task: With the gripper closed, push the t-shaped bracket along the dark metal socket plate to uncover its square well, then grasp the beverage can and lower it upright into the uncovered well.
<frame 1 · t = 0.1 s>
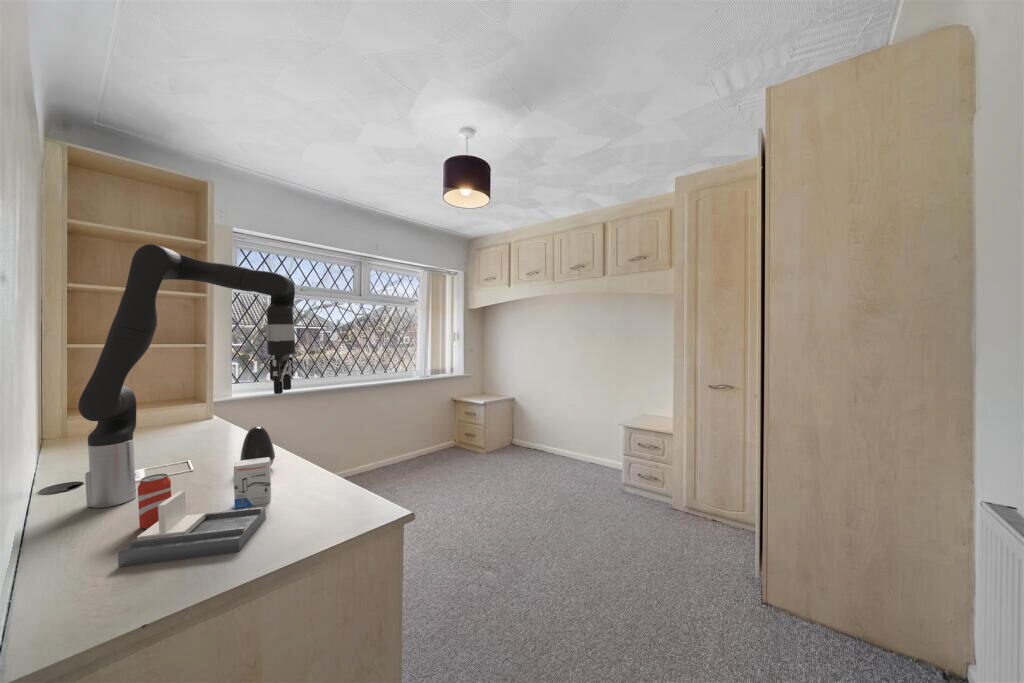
hand: (282, 391, 126), 29 cm above the table, fingers open, 8 cm apart
beverage can: (156, 525, 102), on the table
socket plate: (200, 540, 94), on the table
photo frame: (159, 474, 141), on the table
t-shaped bracket: (172, 513, 92), point 7 cm above the table, slide at 0.0 cm
ink box: (253, 503, 114), on the table
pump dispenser: (258, 470, 141), on the table
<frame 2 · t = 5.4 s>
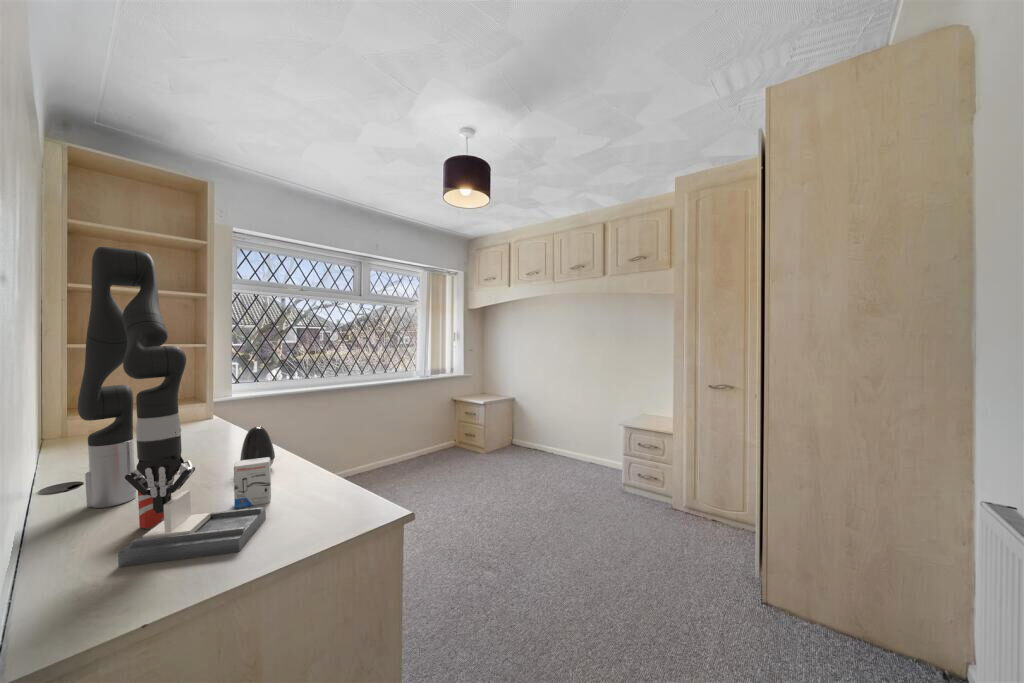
hand: (162, 511, 92), 8 cm above the table, fingers closed
t-shaped bracket: (178, 513, 93), point 7 cm above the table, slide at 1.0 cm, touching gripper
everything else where it was.
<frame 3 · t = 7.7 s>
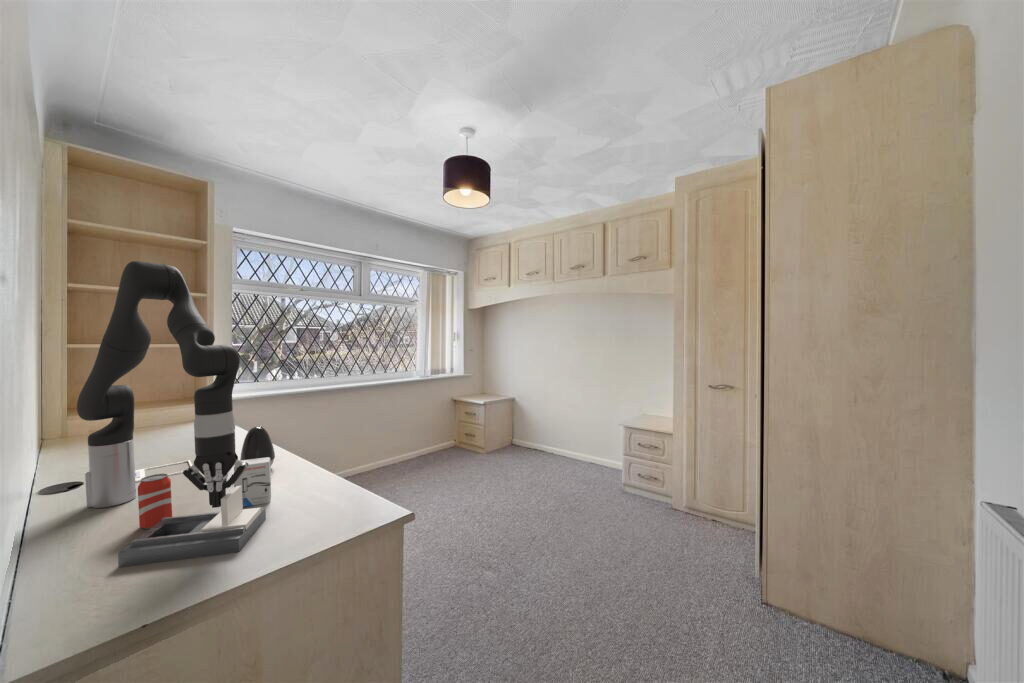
hand: (218, 506, 94), 8 cm above the table, fingers closed
t-shaped bracket: (232, 507, 95), point 7 cm above the table, slide at 12.0 cm, touching gripper
everything else where it was.
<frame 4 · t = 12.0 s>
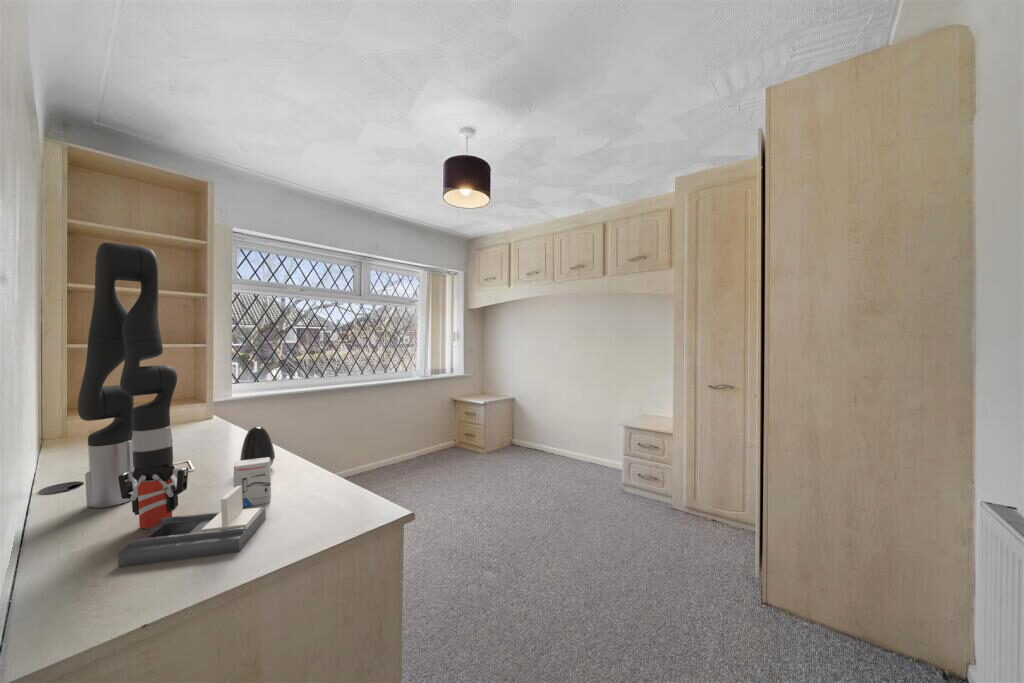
hand: (155, 511, 102), 3 cm above the table, fingers closed on beverage can, 6 cm apart
beverage can: (156, 525, 102), on the table, touching gripper
t-shaped bracket: (232, 507, 95), point 7 cm above the table, slide at 12.0 cm
everything else where it was.
when the fingers open (5 cm above the table, at t = 17.3 s): beverage can drops 2 cm, resting in socket plate.
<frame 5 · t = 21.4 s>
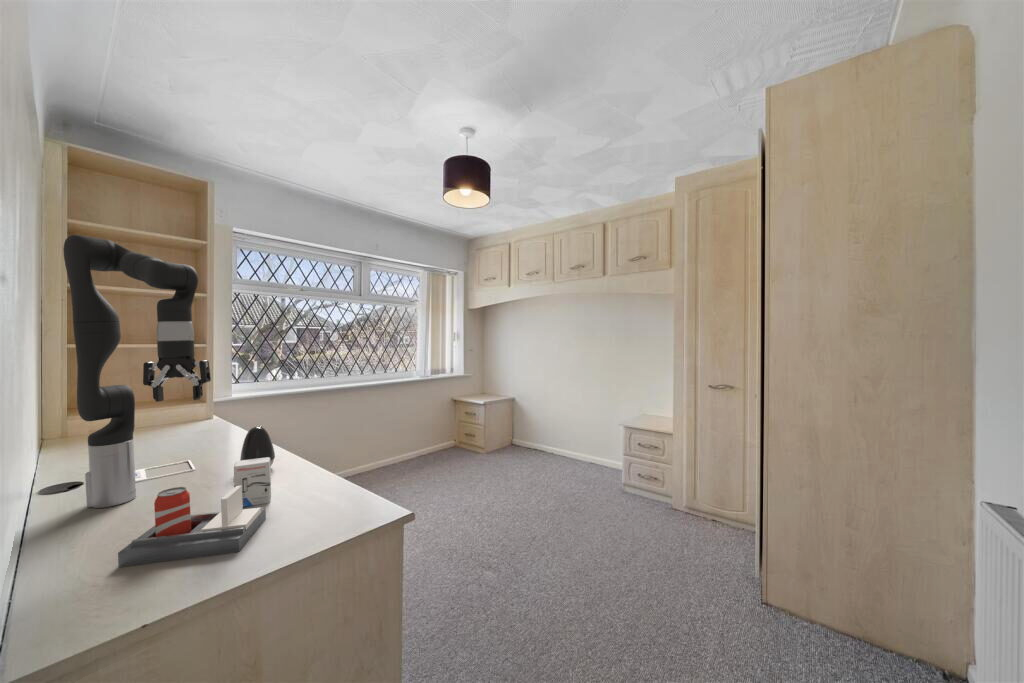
hand: (178, 400, 108), 30 cm above the table, fingers open, 8 cm apart
beverage can: (174, 544, 93), resting in socket plate
everything else where it was.
at the end: beverage can 0.2 cm from the target spot, resting in socket plate; beverage can touching table; beverage can tilted 0° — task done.
